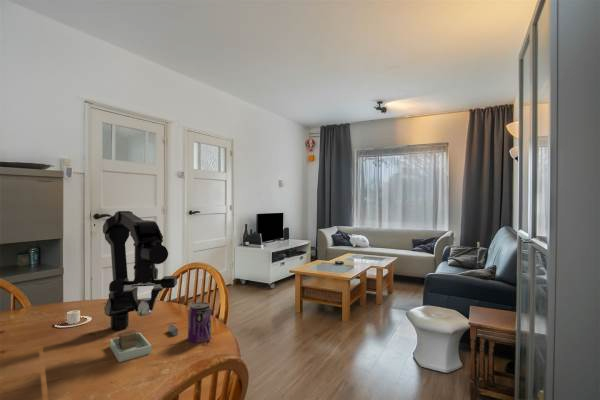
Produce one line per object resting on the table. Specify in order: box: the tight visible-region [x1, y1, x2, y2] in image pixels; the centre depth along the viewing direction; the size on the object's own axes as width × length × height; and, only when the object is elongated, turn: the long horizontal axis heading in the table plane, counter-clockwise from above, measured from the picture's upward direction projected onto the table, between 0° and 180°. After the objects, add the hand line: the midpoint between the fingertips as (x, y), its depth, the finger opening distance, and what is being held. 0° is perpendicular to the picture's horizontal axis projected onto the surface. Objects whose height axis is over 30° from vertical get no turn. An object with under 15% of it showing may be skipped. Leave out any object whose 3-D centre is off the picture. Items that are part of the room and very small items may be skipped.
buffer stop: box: [167, 324, 179, 337], centre depth 110 cm, size 5×2×3 cm, turn 40°
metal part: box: [137, 297, 152, 317], centre depth 102 cm, size 4×4×4 cm
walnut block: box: [118, 329, 138, 350], centre depth 100 cm, size 4×4×4 cm
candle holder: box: [54, 309, 92, 328], centre depth 123 cm, size 12×12×4 cm
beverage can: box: [187, 301, 212, 344], centre depth 106 cm, size 7×7×12 cm
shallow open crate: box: [109, 332, 153, 363], centre depth 97 cm, size 14×8×3 cm, turn 40°
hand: (144, 310), depth 101 cm, fingers closed on metal part, 4 cm apart
